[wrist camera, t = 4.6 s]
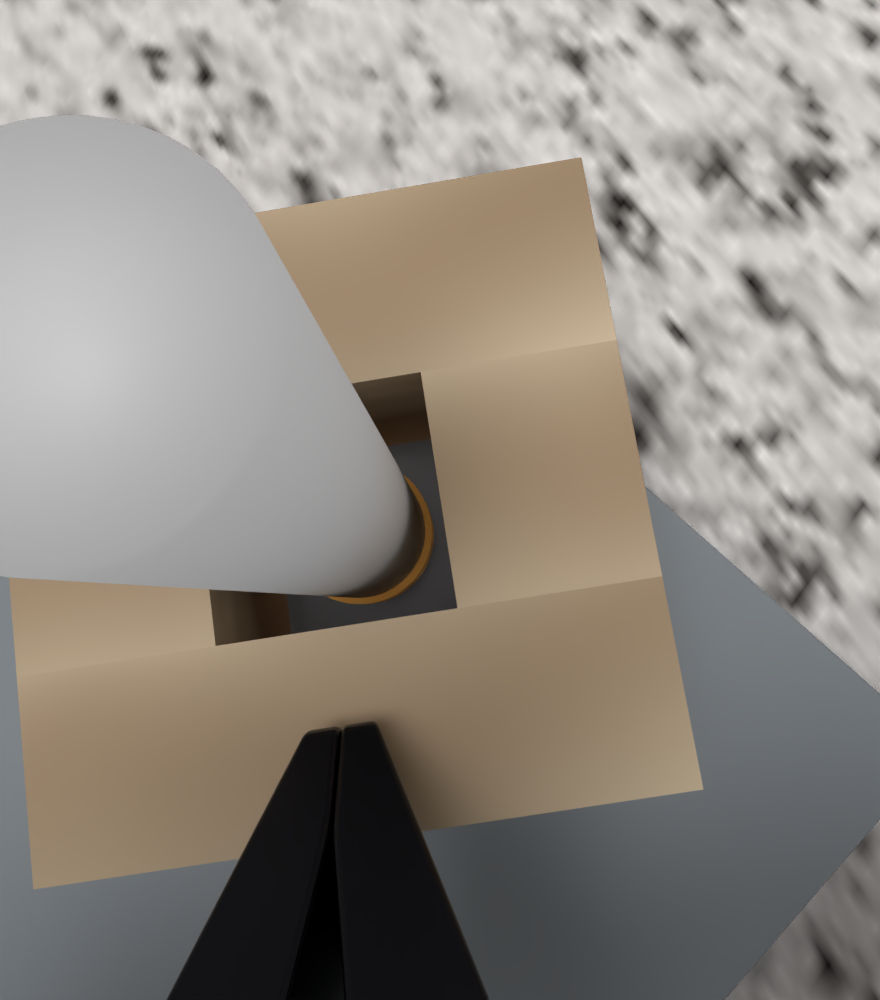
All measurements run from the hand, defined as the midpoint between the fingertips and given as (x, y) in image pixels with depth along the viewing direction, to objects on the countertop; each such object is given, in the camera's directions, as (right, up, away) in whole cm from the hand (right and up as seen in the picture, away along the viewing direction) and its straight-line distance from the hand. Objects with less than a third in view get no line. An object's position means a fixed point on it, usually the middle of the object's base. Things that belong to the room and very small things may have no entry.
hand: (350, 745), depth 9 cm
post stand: (-1, -3, +8) cm, 8 cm away
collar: (0, +2, +5) cm, 5 cm away
